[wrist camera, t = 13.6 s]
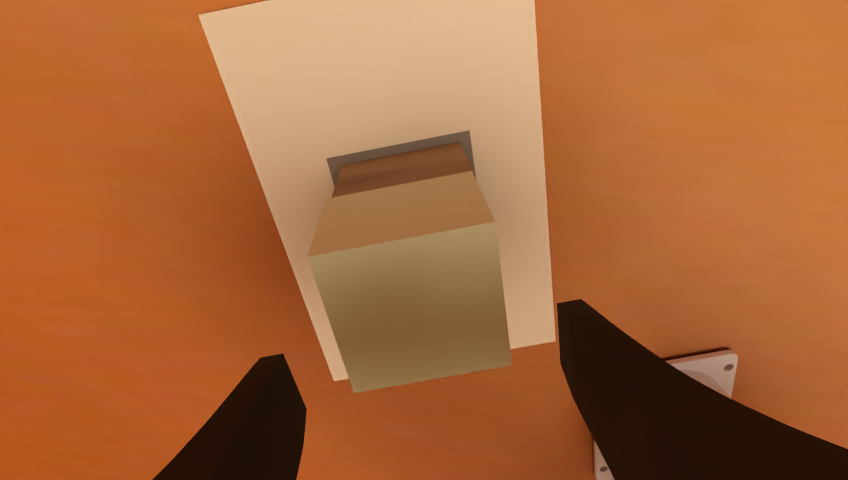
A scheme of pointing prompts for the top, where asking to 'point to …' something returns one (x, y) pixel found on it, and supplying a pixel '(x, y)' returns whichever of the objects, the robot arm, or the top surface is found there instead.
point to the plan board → (393, 120)
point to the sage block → (412, 282)
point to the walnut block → (401, 169)
